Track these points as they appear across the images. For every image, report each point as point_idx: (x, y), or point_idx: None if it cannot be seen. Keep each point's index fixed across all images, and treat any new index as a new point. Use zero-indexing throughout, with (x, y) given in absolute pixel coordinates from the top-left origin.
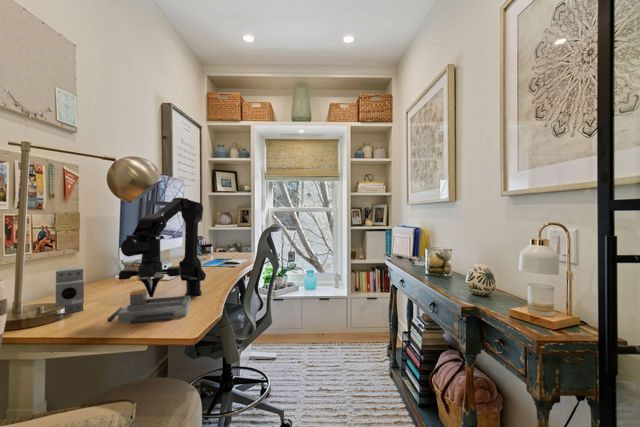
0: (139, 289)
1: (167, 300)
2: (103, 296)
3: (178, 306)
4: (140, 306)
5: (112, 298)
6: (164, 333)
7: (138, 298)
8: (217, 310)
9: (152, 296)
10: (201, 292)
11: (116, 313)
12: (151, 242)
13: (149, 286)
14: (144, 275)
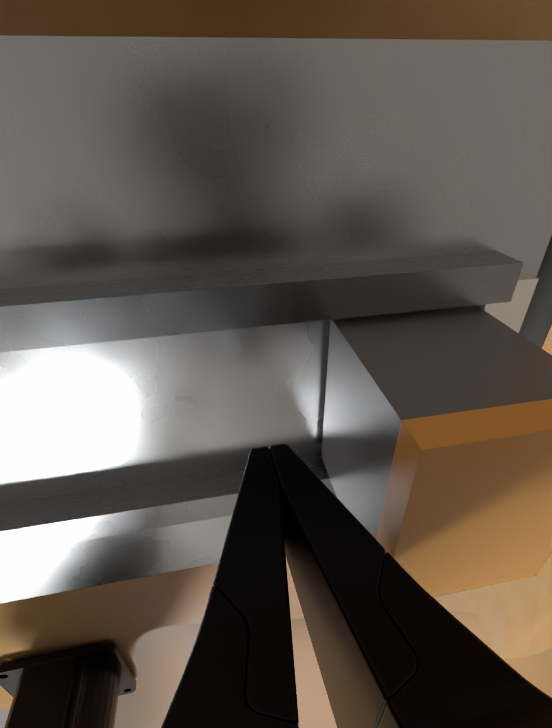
0: (473, 576)
1: (108, 488)
2: (537, 618)
3: None
4: (360, 265)
5: (507, 601)
6: None
7: (438, 364)
8: None
9: (250, 451)
10: (11, 695)
11: (536, 306)
12: None
13: (344, 612)
14: None
